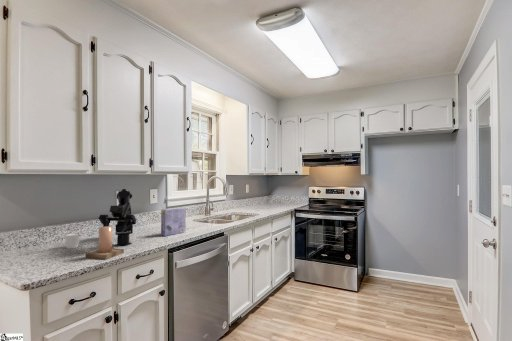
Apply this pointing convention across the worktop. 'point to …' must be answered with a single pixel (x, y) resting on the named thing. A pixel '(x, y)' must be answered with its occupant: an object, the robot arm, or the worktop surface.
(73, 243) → the shot glass
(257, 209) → the worktop surface
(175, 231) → the cake pan box
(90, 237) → the worktop surface
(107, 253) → the walnut stand
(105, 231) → the pink rounded glossy part
